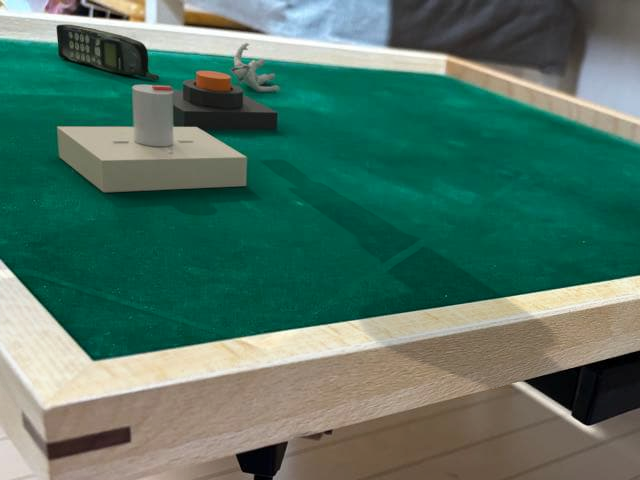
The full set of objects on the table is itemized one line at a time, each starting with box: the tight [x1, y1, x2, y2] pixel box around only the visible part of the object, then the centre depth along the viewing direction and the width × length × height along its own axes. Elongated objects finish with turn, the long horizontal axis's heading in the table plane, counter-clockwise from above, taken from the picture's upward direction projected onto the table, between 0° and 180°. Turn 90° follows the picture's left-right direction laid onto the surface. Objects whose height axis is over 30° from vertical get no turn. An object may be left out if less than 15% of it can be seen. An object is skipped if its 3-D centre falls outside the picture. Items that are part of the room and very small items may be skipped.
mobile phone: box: [56, 23, 160, 81], centre depth 121 cm, size 5×3×15 cm
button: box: [195, 70, 232, 91], centre depth 108 cm, size 4×4×2 cm
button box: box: [172, 78, 279, 131], centre depth 109 cm, size 12×10×4 cm
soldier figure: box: [229, 43, 281, 93], centre depth 129 cm, size 8×5×12 cm
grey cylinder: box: [131, 84, 174, 147], centre depth 85 cm, size 4×4×5 cm
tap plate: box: [56, 126, 248, 194], centre depth 87 cm, size 14×11×3 cm
